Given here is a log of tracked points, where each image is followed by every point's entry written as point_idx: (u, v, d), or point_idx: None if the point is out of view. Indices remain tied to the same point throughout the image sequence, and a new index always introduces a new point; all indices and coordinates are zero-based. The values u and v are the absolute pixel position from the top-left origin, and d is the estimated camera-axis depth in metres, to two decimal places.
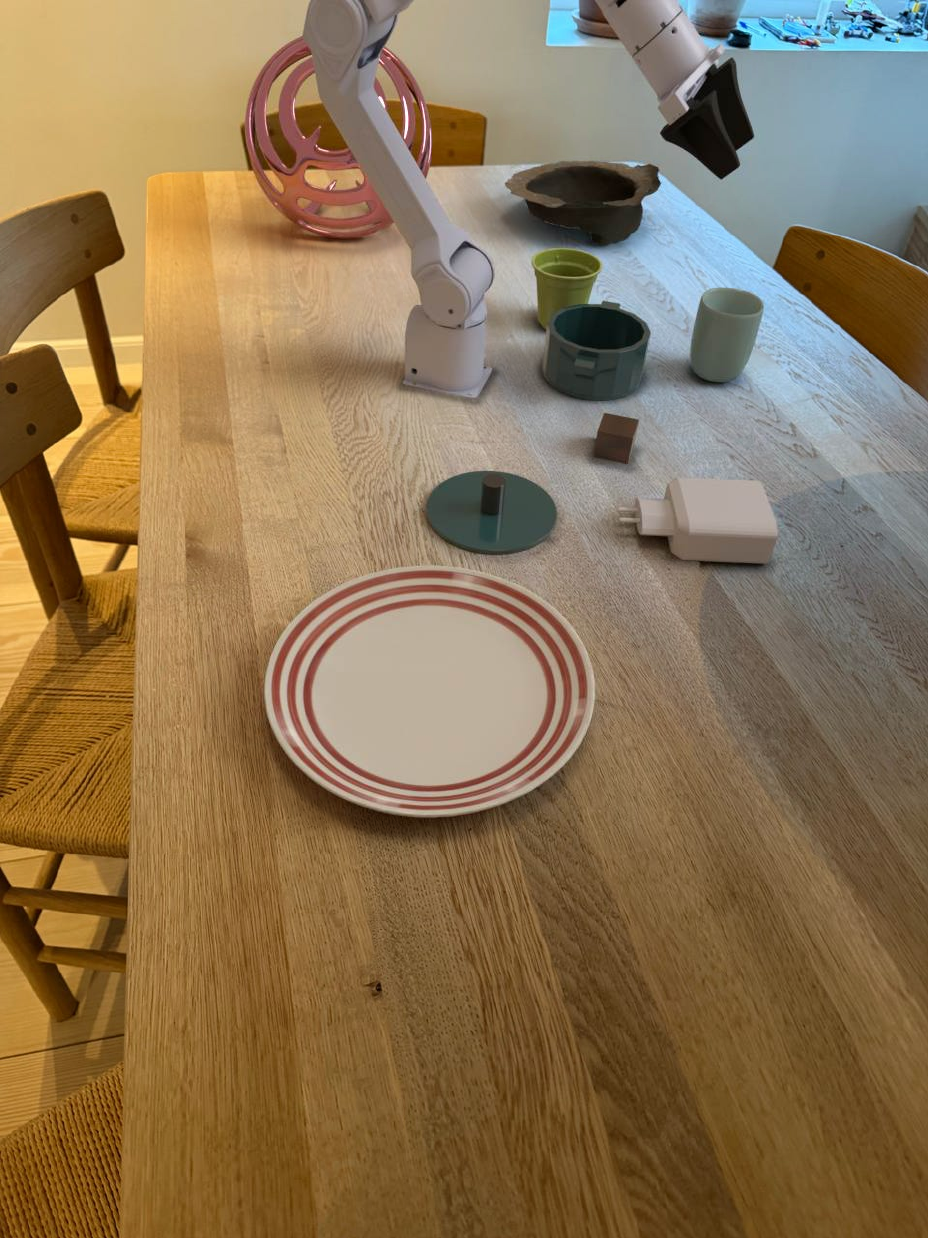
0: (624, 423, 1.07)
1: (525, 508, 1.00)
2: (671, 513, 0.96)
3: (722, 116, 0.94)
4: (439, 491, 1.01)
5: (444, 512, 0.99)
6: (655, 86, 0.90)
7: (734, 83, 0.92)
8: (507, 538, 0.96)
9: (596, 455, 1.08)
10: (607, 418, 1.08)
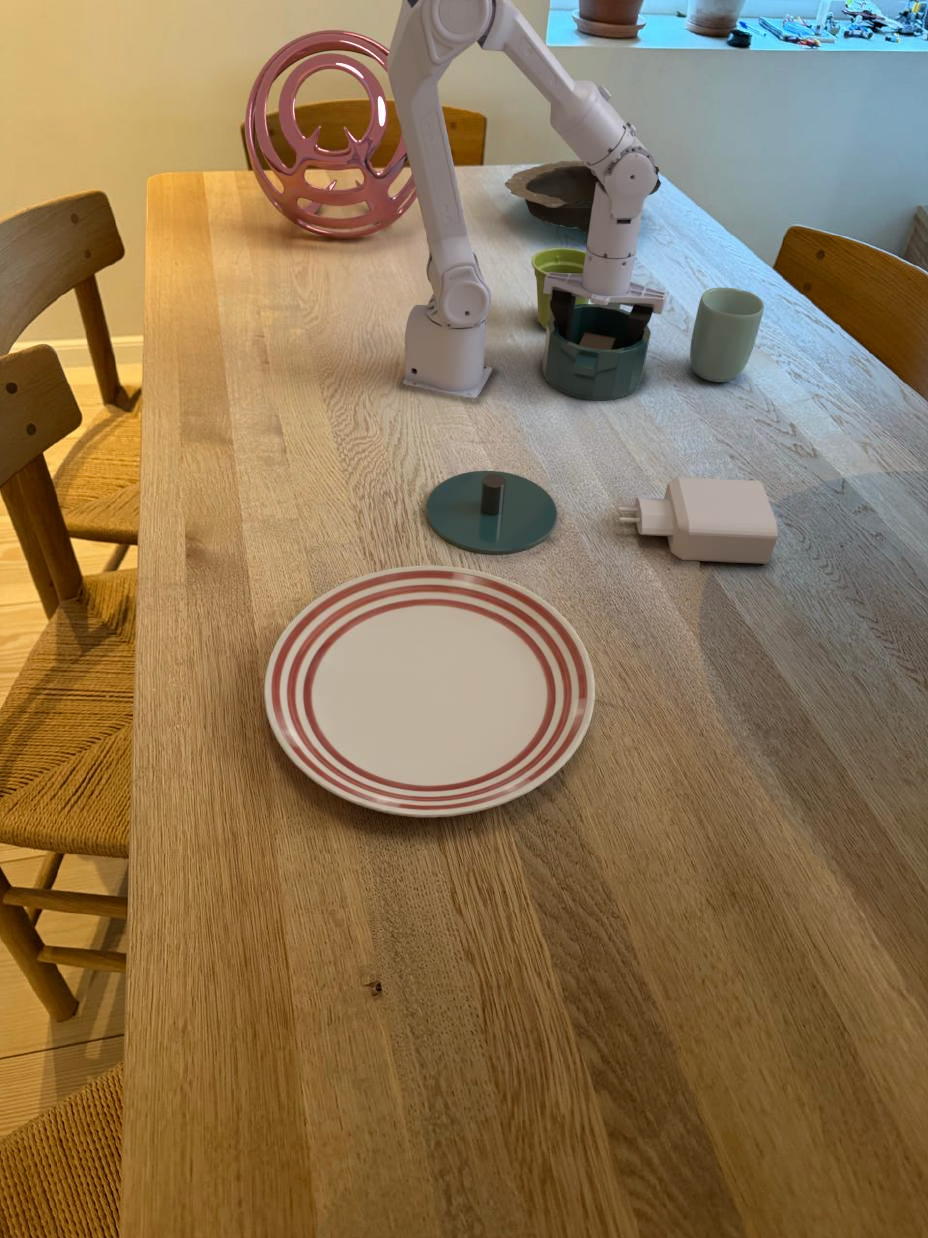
0: (602, 340, 1.20)
1: (525, 508, 1.00)
2: (671, 513, 0.96)
3: None
4: (439, 491, 1.01)
5: (444, 512, 0.99)
6: None
7: (628, 329, 1.15)
8: (507, 538, 0.96)
9: None
10: (587, 336, 1.20)
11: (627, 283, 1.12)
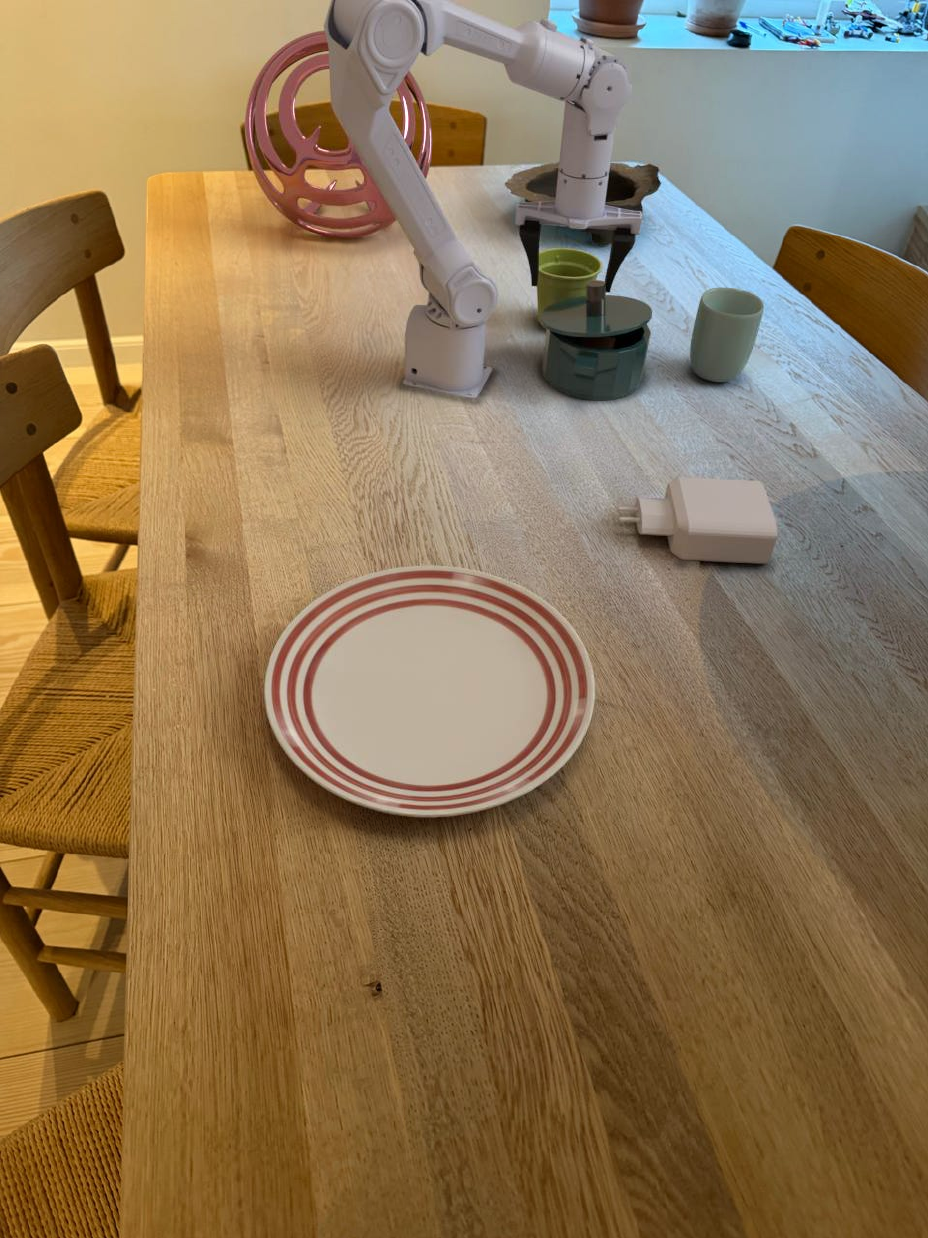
0: (602, 340, 1.20)
1: (624, 309, 1.17)
2: (671, 513, 0.96)
3: (609, 259, 1.15)
4: (548, 310, 1.19)
5: (556, 319, 1.17)
6: None
7: (613, 253, 1.12)
8: (613, 325, 1.13)
9: None
10: None
11: (603, 204, 1.09)
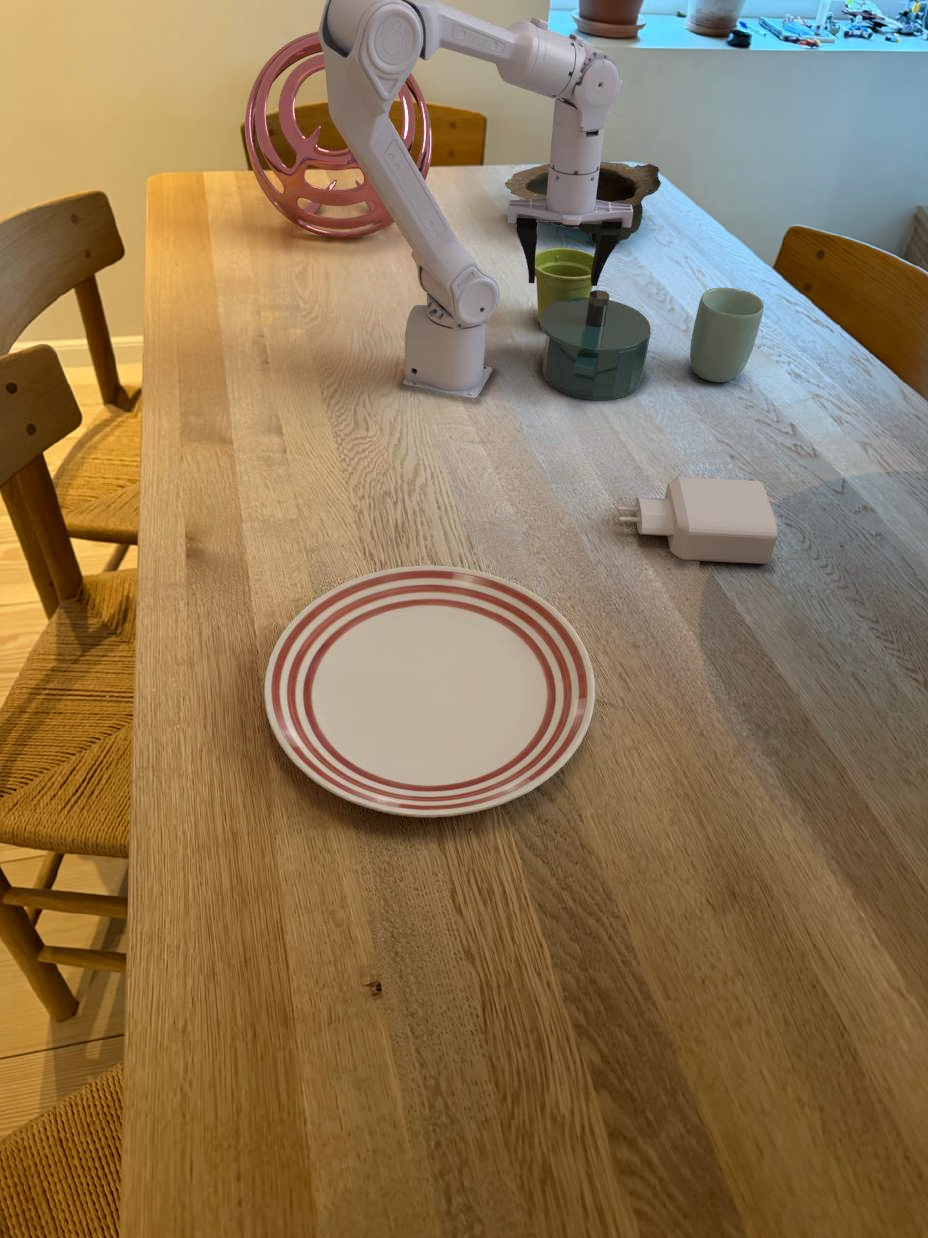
0: None
1: (623, 322, 1.18)
2: (671, 512, 0.96)
3: (595, 253, 1.16)
4: (549, 310, 1.19)
5: (556, 324, 1.17)
6: None
7: (600, 247, 1.13)
8: (611, 341, 1.14)
9: None
10: None
11: (594, 199, 1.10)
